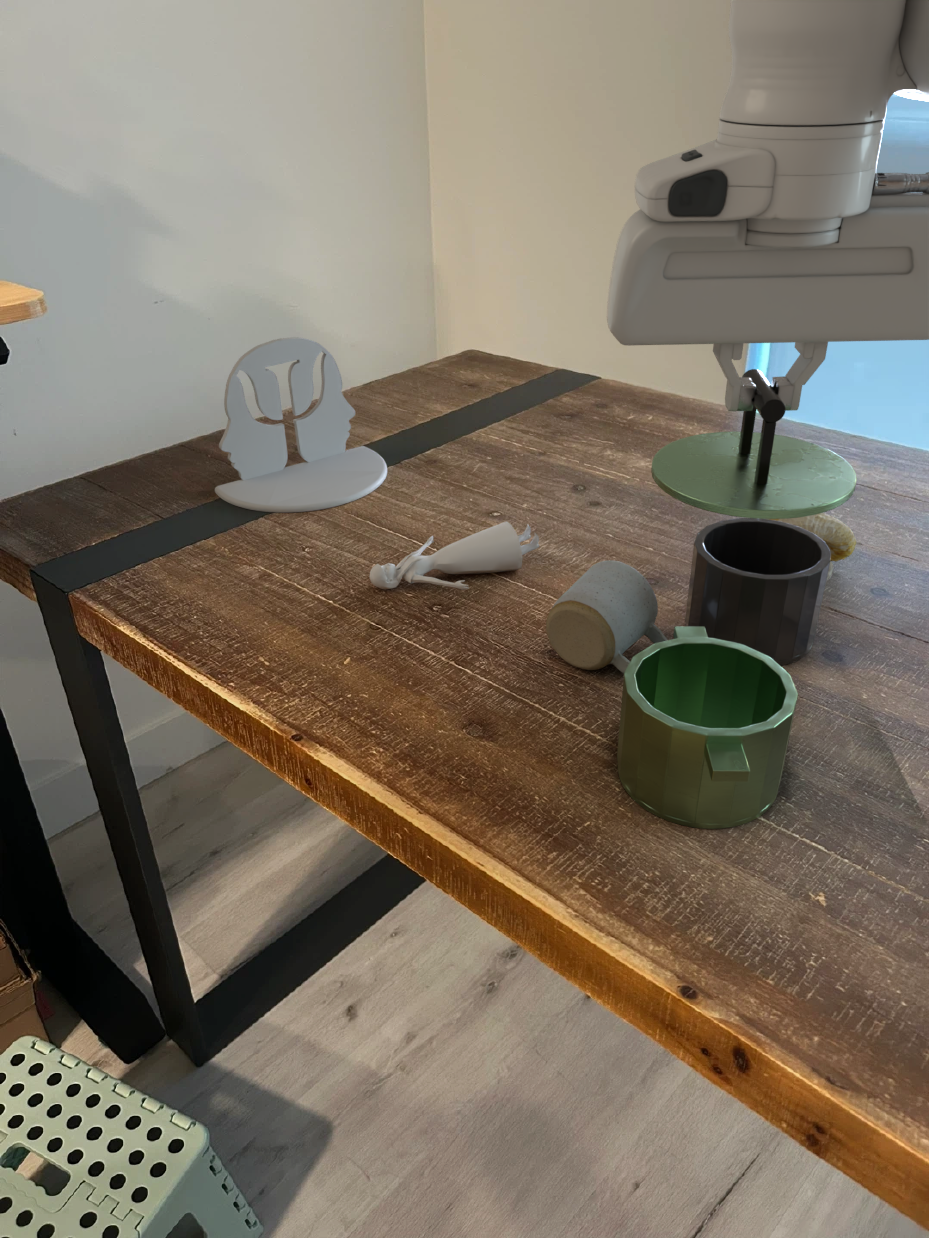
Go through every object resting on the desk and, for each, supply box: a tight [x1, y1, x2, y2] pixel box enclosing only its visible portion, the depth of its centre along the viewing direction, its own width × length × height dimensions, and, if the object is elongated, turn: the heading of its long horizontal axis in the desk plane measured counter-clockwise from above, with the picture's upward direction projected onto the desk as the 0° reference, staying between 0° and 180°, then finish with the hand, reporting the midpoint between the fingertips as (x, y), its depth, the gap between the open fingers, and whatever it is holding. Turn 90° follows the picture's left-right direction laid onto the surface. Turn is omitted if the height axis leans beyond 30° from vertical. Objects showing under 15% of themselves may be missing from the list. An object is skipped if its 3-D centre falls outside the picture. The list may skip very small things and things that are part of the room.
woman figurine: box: [369, 521, 540, 591], centre depth 101 cm, size 12×4×18 cm
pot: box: [616, 625, 799, 830], centre depth 72 cm, size 12×17×8 cm
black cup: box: [684, 517, 831, 667], centre depth 89 cm, size 12×12×9 cm
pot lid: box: [650, 368, 857, 519], centre depth 64 cm, size 13×13×7 cm
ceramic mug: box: [545, 560, 668, 674], centre depth 86 cm, size 11×8×8 cm
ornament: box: [214, 336, 388, 513], centre depth 117 cm, size 22×13×17 cm, turn 126°
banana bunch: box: [769, 512, 857, 582], centre depth 102 cm, size 10×6×15 cm
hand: (760, 408), depth 63 cm, fingers closed on pot lid
